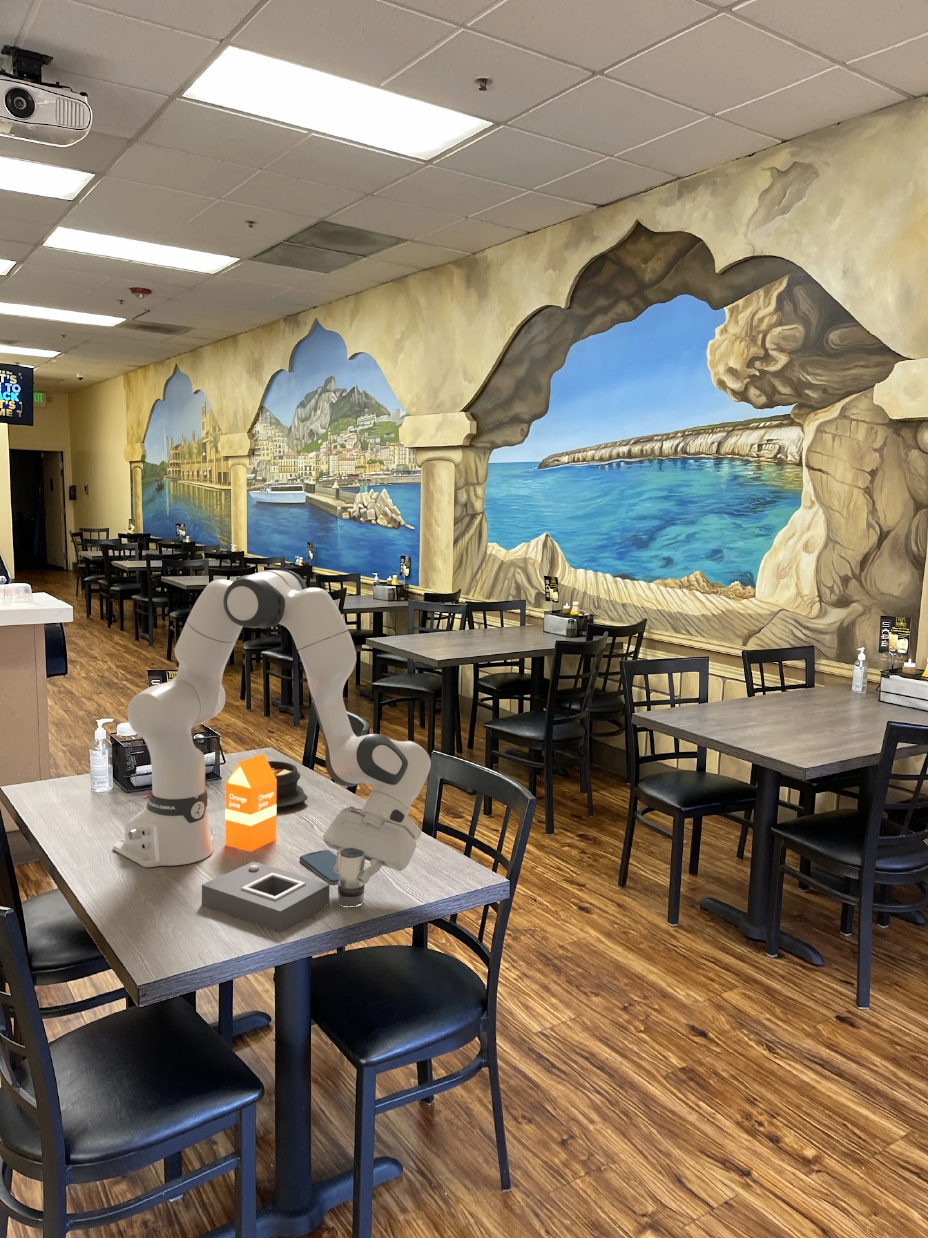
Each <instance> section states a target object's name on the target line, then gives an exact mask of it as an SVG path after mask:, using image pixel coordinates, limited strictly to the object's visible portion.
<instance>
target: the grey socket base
mask: <svg viewBox="0 0 928 1238" xmlns="http://www.w3.org/2000/svg"><path fill="white" fill-rule="evenodd" d="M327 904H328V905H329V904H330V883H327V882H323V881H319V880H316V879H312V878H309V877H306V876H303V875H299V874H296V873H293V872H290V871H286V870H283V869H281V868H276V867H273V866H271V865H267V864H264V863H260V862H258V861H254V860H253V861H251V862H249V863H247V864H244V865H242V866H240V867H238V868H235V869H233V870H231V871H229V872H227V873H225V874H222V875H221V876H218V877H216V878H214V879H212V880H210V881H207V882H205V883H203V884H201V905H202V906H203V907H207V908H210V909H213V910H216V911H218V912H221V913H224V914H227V915H230V916H233V917H235V918H239V919H240V920H243V921H246V922H249V923H253V924H255V925H258V926H262V927H264V928H266V929H270V930H273V931H276V932H279V933H282V932H283V931H285V930H286V929H289V928H290V927H292V926H293V924H294V925H296V924H297V923H299V922H301V921H302V920H304V919H305V917H306V918H307V916H308V917H309V916H311V915H313V914H315V913H316V912H318V911H319V910H321V909H323V908H325V907H326V905H327ZM328 905H327V906H328ZM324 906H325V907H324ZM314 912H315V913H314Z"/></svg>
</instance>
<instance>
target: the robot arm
mask: <svg viewBox="0 0 928 1238" xmlns="http://www.w3.org/2000/svg"><path fill="white" fill-rule="evenodd" d="M339 609H340V608H338V606H337V605H336V603H335V601H334V600H333V598H332V596H331V595H330V593H329V592H328V591H326V590H325V589H323V588H320V587H307V584H306V582H305V581H304V578H302V577H301V576H300V575H299V574H298V573H296V572H294V571H292V570H288V569H283V568H279V569H278V568H277V569H269V570H268V569H267V570H266V569H265V570H261V571H258V572H255V573H253V574H246V575H243V576H240V577H239V578H237V579H235V580H234V581H232V580H229V579H224V578H223V579H222V578H221V579H216V580H212V581H210V582H209V583H208V584H207V585H206V586H205V588H204V589H203V591H202V592H201V594H200V595H199V596H198V598H197V600H196V601H195V603H194V605H193V607H192V609H191V610H190V612H189V615H188V617H187V619H186V622H185V623H184V626H183V629H182V631H181V633H180V634H179V635H180V636H179V637H178V639H177V642H176V645H175V647H174V653H173V654H174V657H175V659H176V660H177V662H178V668H177V669H178V670H177V673H176V675H175V676H174V677H173V678H172V679H171V680H170V681H167V682H163V683H159V684H155V685H152V686H149V687H147V688H145V689H144V690H142V691H140V692H139V693H138V694H136V695H134V696H133V698H132V699H131V700H130V701H129V703H128V706H127V712H126V713H127V715H126V716H127V720H128V724H129V725H130V727H131V729H132V730H133V731H134V732H135V733H136V734H137V735H138V736H140V737H141V738H142V739H143V740H144V742H145V744H146V747H147V750H148V752H149V756H150V763H151V783H152V784H151V786H152V787H151V788H152V791H150V792H146V793H144V794H143V796H144V797H143V799H144V800H145V799H148V800H147V802H146V803H147V804H146V807H145V808H143V809H142V810H141V811H140V812H138V813H137V814H135V815H134V816H133V817H131V818H130V819H129V820H128V821H127V823H126V825H125V829H124V837H123V838H121V839H119V840H118V841H116V842H115V843H114V844H113V846H112V849H113V850H114V851H115V852H117V853H118V854H120V855H122V856H124V857H126V858H127V859H129V860H131V861H133V862H135V863H137V864H138V865H140V866H142V867H143V868H154V867H160V866H161V867H162V866H164V867H165V866H180V865H183V866H184V865H188V864H192V863H196V862H200V861H202V860H205V859H206V858H208V857H210V856H211V854H212V853H213V850H214V848H213V845H212V844H213V842H214V837H213V836H211V828H210V820H209V811H208V809H207V807H208V797H209V796H208V790H207V788H206V758H205V755H204V752H203V751H201V750H200V749H199V748H197V747H196V746H195V744H194V741H193V737H192V728H193V727H196V726H199V725H202V724H205V723H207V722H209V721H211V720H212V719H213V718H214V717H216V716H217V715H219V713H220V712H221V711H222V710H223V709H224V707H225V704H226V690H225V688H224V687H223V684H222V682H223V676H224V671H225V668H226V666H227V664H228V661H229V659H230V656H231V654H232V652H233V649H234V647H235V645H236V642H237V641H238V639H239V636H240V634H241V633H242V629H243V627H244V628H251V629H257V628H258V629H259V628H260V629H261V628H274V627H276V626H278V625H280V626H283V627H285V628H286V629H287V630H288V631H289V633H290V635H291V637H292V639H293V641H294V644H295V647H296V650H297V653H298V654H299V657H300V659H301V663H302V665H303V668H304V672H305V674H306V679H307V683H308V684H307V685H308V690H309V694H310V699H311V702H312V705H313V708H314V711H315V715H316V718H317V721H318V724H319V728H320V732H321V734H322V737H323V742H324V749H325V751H324V752H325V754H324V755H325V757H324V759H325V767H326V771H327V773H328V775H329V776H330V778H331V779H332V781H334V782H335V783H336V784H338V785H340V786H343V787H354V786H358V785H361V784H368V785H370V786H371V787H372V790H371V791H370V794H369V796H368V798H367V799H366V801H365V803H364V805H363V807H362V808H357V807H354V806H348V807H346V808H343V809H341V810H340V812H339V813H338V815H337V816H336V817H335V818H333V820H332V822H331V823H330V824H329V826H328V827H327V829H326V830H325V832H324V834H323V836H322V837H323V842H324V843H325V844H326V845H327V846H328V847H329V848H331V849H332V850H336V851H337V852H336V856H337V863H336V864H335V866H334V868H333V871H334V872H335V873H337V874H339V852H341V851H342V850H343V849H346V848H355V849H358V850H361V851H363V853H364V854H365V861H368V862H369V866H368V867H366V869H364V871H362V870H361V871H360V873H359V875H358V877H357V879H358V880H359V881H360V882H363V883H365V884H368V882H369V880H370V878H371V877H372V876H374V875H375V874H376V873H377V872H379V871H380V869H381V868H382V866H383V867H386V868H389V869H392V870H394V871H398V872H402V871H403V870H405V869H406V868H407V867H408V865H409V864H410V861H411V859H412V858H413V855H414V853H415V850H416V847H417V840H418V839H420V837H421V835H422V831H421V829H420V827H419V826H418V825H417V824H416V822H414V820H413V819H412V818H411V817H410V816H409V813H410V811H411V807H412V804H413V802H414V801H415V799H416V798H417V797H418V796H419V795H420V793H421V791H422V788H423V786H424V785H425V783H426V781H427V778H428V775H429V773H430V771H431V770H430V769H431V763H432V761H431V757H430V755H429V753H428V752H427V751H426V749H425V748H424V747H422V746H421V745H420V744H418V743H416V742H415V741H411V740H403V741H401V740H395V739H391V738H390V737H387V736H385V735H384V734H380V733H369V734H364V735H360V736H357V735H356V734H355V733H354V731H353V728H352V724H351V721H350V719H349V715H348V712H347V709H346V706H345V701H344V697H343V696H344V694H343V693H344V687H345V685H346V682H347V680H348V679H349V677H350V676H351V675H352V673H353V671H354V669H355V666H356V663H357V653H356V648H355V644H354V641H353V639H352V635H351V633H350V631H349V629H348V626H347V623H346V622H345V619H344V617H343V615H342V613H341V611H340V610H339Z"/></svg>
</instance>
